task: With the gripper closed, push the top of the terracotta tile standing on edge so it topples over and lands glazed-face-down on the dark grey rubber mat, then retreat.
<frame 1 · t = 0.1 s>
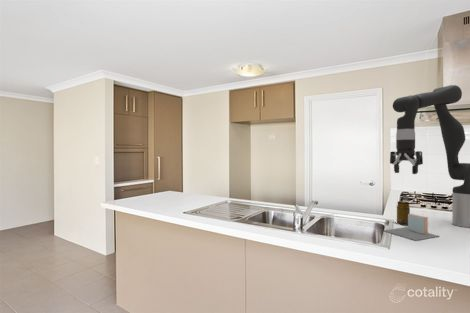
hand: (405, 173, 125), 29 cm above the worktop, fingers open, 8 cm apart
tile: (417, 231, 129), resting on mat
mat: (410, 233, 127), on the worktop
condiment: (404, 224, 146), on the worktop
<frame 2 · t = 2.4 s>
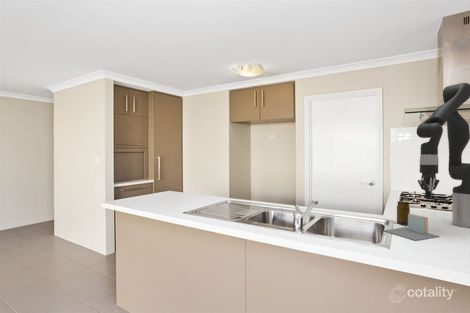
hand: (428, 198, 132), 16 cm above the worktop, fingers closed
nothing on the worktop moved.
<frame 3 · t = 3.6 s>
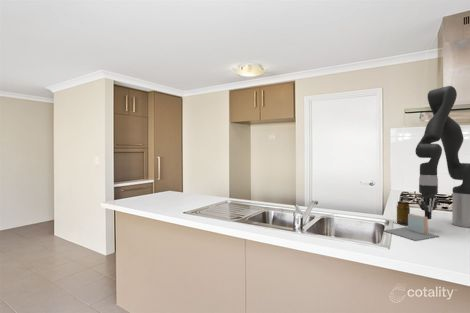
hand: (428, 218, 132), 6 cm above the worktop, fingers closed
nothing on the worktop moved.
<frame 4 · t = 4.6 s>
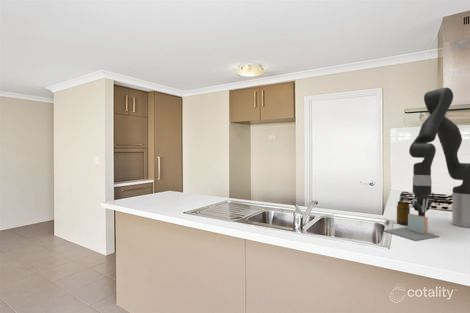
hand: (421, 219, 130), 6 cm above the worktop, fingers closed
tile: (417, 231, 129), resting on mat, touching gripper
everything else where it was.
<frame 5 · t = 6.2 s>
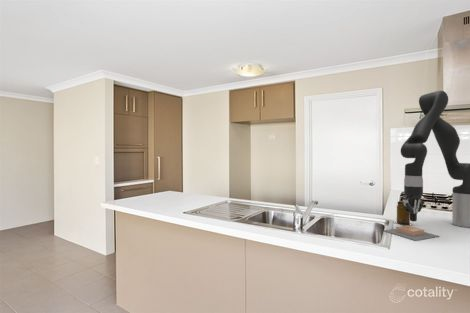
hand: (413, 221, 128), 6 cm above the worktop, fingers closed
tile: (415, 229, 128), point 2 cm above the worktop, tilted 90°, touching mat
everything else where it was.
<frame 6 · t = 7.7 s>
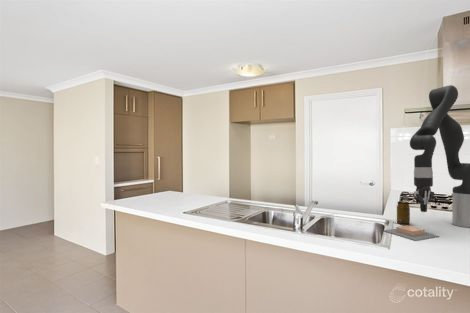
hand: (423, 211, 130), 10 cm above the worktop, fingers closed
nothing on the worktop moved.
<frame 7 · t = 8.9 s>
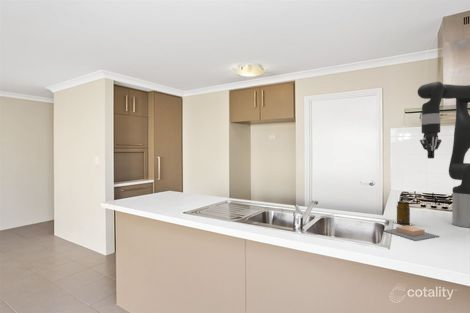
hand: (430, 158, 132), 36 cm above the worktop, fingers closed
nothing on the worktop moved.
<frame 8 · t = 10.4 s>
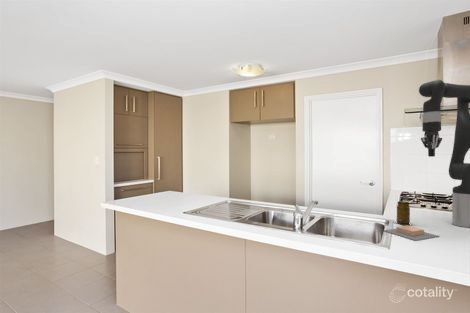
hand: (431, 156, 132), 37 cm above the worktop, fingers closed
nothing on the worktop moved.
at the end: tile tilted 90°; tile inside the target area on the mat (3.8 cm from its centre), point 1.6 cm above the mat's base; tile touching mat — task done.
